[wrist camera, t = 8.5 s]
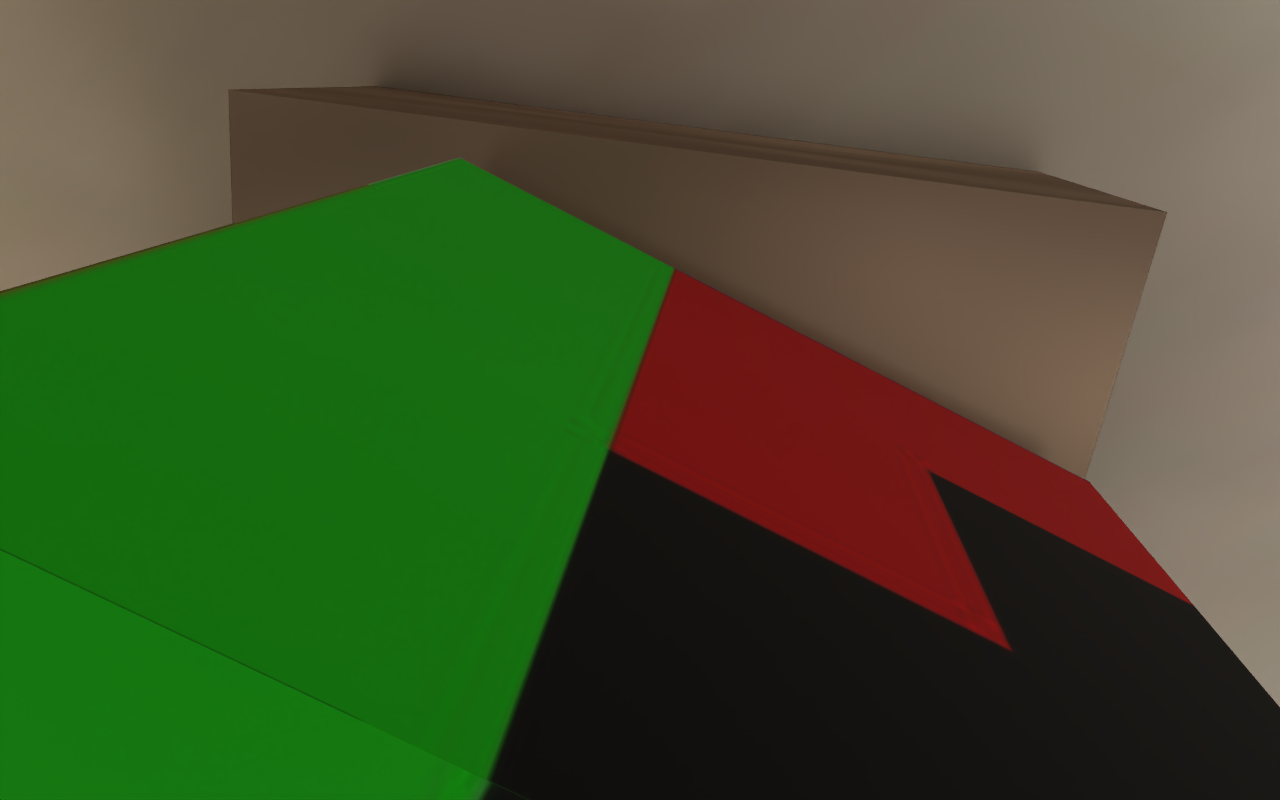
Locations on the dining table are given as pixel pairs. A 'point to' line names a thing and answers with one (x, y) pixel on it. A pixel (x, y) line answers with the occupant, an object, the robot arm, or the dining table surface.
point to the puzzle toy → (548, 542)
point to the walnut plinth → (783, 236)
